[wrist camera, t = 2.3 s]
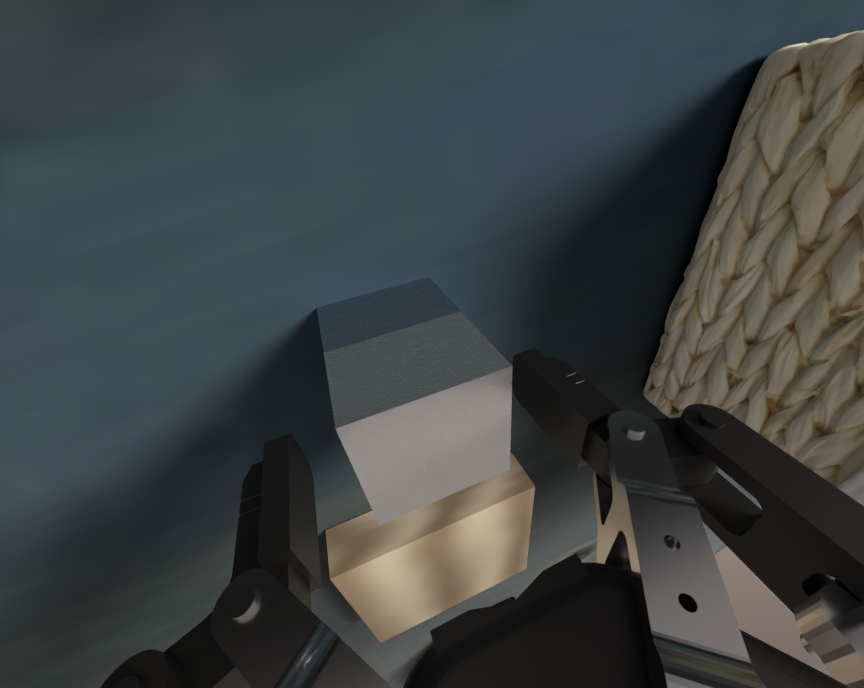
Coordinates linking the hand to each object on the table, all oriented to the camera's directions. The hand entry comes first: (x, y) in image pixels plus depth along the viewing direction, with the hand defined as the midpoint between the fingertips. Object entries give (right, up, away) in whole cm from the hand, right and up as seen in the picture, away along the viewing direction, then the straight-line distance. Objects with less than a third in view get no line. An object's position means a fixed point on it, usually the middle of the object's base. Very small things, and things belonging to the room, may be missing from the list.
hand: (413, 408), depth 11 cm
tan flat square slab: (+1, -14, +16) cm, 21 cm away
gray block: (-2, +3, +4) cm, 5 cm away
